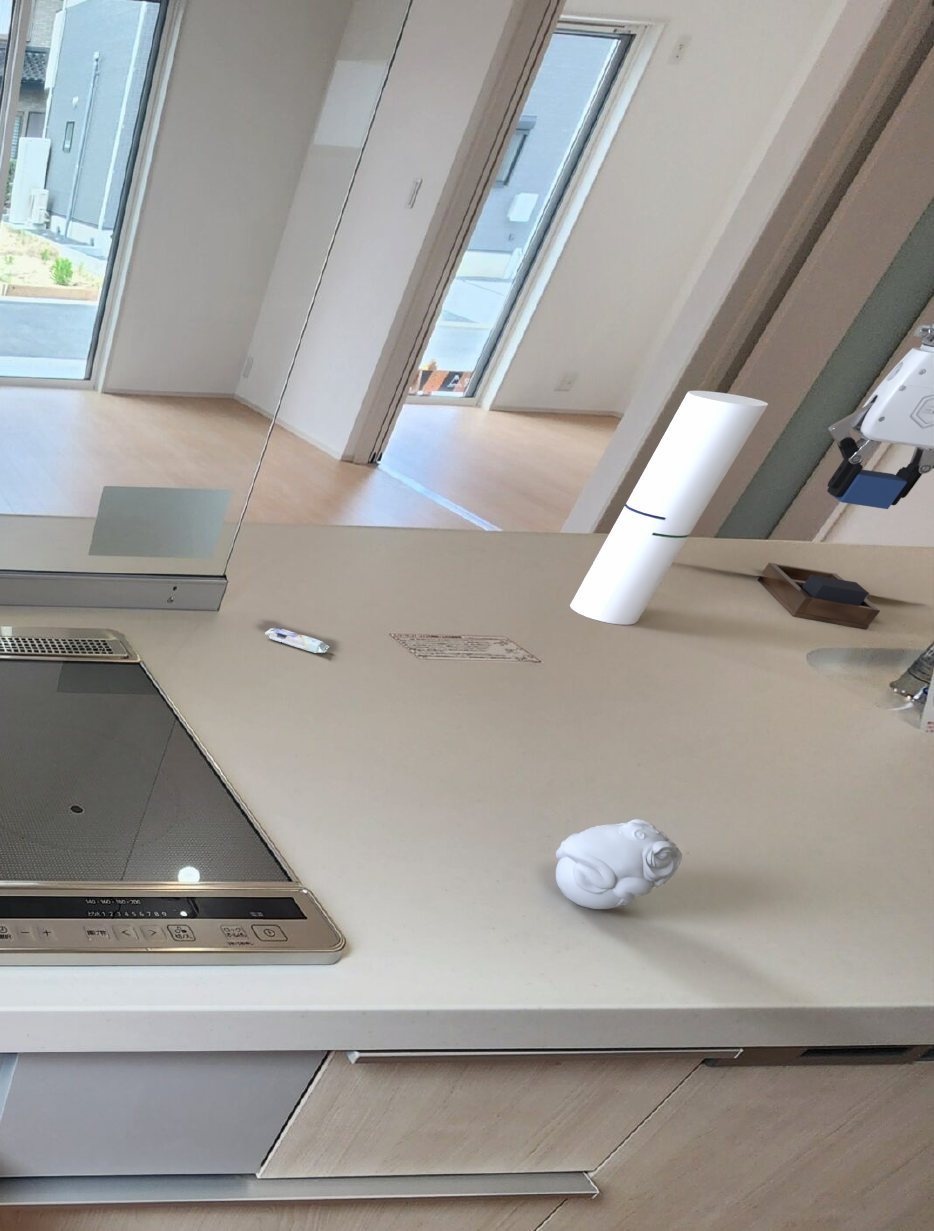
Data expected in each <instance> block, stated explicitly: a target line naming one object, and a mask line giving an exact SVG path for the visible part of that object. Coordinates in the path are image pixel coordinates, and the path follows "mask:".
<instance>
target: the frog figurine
mask: <svg viewBox="0 0 934 1231" xmlns="http://www.w3.org/2000/svg"><path fill="white" fill-rule="evenodd" d="M555 857H556V858H557V860H558V862H557V865H556V868H555V881H556V884H557V886H558V888H559V890H560V892H561V893H562V894H563V895H564V896H565V897H566V898H567V899H568V900H570V901H571V902H573V903H574V904H576V905H579V906H581V907H583V908H587V909H591V910H592V909H593V910H609V909H615V908H618V907H621V906H627V905H628V904H630V903H632V902H634V901H635V897H636V896H637V897H639V896H640V897H642V896H646V895H648V894H650V893H651V892H652V891H653V888H658V887H661V886H662V885H665V884H666V883H667V882H669V880H670V879H672V877H674V875H675V874H676V872H677V871H678V869H679V866H680V865H681V863H682V862H681V861H682V859H683V853H682V852H681V850H680V848H679V847H678V846H677V844H676V843H675V842H673V841H672V840H671V839H670V838H669V837H668V836H667V835H666V833H665V832H664V831H662V830H661V829H658V828H657V826H655V825H654V824H653V823H651V822H650V821H647V820H644V819H639V818H633V819H632V820H630V821H628V822H621V823H611V824H601V825H596V826H592V827H590V828H587V829H585V830H583V831H580V832H575V833H572V834H571V835H569V836H568V837H567V838H566V839H564V840H562V841H561V843H560V845H559V847H558V848H557V850H556V852H555Z"/></svg>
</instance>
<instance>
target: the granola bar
mask: <svg viewBox="0 0 934 1231" xmlns="http://www.w3.org/2000/svg"><path fill="white" fill-rule="evenodd" d="M264 635H266V636H268V637H269V639H270V640H271V641H276V642H279V643H281V642H282V644H284V645H287V646H291V647H295V648H297V649H301V650H304V651H307V652H310V653H314V654H317V653H321V654H325V653H326V652H327V650H328V649H330V646H329V645H328V644H326V643H325V642H324V641H322V640H319V639H316V638H314V637H311V636H308V635H304V634H301V633H297V632H294V631H291V630H288V629H284V628H281V627H275V628H271V627H270V628H269V629H268V630H267V631H265V632H264Z"/></svg>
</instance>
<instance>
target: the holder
mask: <svg viewBox="0 0 934 1231" xmlns="http://www.w3.org/2000/svg"><path fill="white" fill-rule="evenodd" d="M762 574H763V575H764V576H763V575H759V577H758V579H757V581H758V582H759V583H760V584H761V585H762V587H764V588H765V589H766V590H767V591H768V592H769V594H771V596H773V597H774V599H776V601H778V603H780V605H782V607H783V608H785V610H786V611H787V612H788V613H789V614H790V615H791V616H792V617H796V618H800V619H807V620H813V621H818V622H823V623H829V624H835V625H839V626H840V625H841V626H846V627H852V628H856V629H863V630H867V629H868V628H869V627H870V626H871V624H872V623H873V622H874V620H876V618H877V617H878V615H879V614H880V612H881V609H879V608H878V607H877V606H876V605H875V604H874V603H872V602H871V601H870V600H869V599H867V597H866V598H865V599H864V601H863V602H862V603H861V605H860V606H859V605H853V604H847V603H841V602H836V601H830V600H824V599H818V598H812V597H810V596H809V595H808V594H807V593H806V592H805V591H803V590H802V589H801V588H802V586H803V585H804V584H805V582H806V581H807V579H808V578H809V576H810V575H816V576H822V577H828V578H834V579H840V580H844V579H843V578H842V577H841V576H840V575H839V574H837V573H834V572H830V571H829V572H828V571H822V570H816V569H810V568H805V567H798V566H792V565H787V564H780V563H774V562H768V563H767V564H766V566H765V568H764V569H763V571H762Z"/></svg>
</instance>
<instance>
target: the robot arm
mask: <svg viewBox="0 0 934 1231" xmlns="http://www.w3.org/2000/svg"><path fill="white" fill-rule="evenodd" d="M913 337H914V338H920V340H921V339H922V340H921V342H920V343H921V345H920V347H912V348H911V349H910V350H909V351H908V352H907V353H906V354H905V355H904V356H903V357H902V358H901V359H900V361H899V362H898V363H896V365H895V366H894V367H893V368H892V369H891V370H890V372H889V373H888V374H886V376H885V377H884V379H883V380H882V381H881V382H880V383H879V385H878V386H876V389H875V390H874V391H873V393H872V394H871V395H870V396H869V398H868V399H867V400H866V401H865V403H864V404H863V406H862V407H861V408H860V409H858V410H856V411H854V412H853V413H851V414H849V415H847V416H845V417H844V418H842V419H840V420H838V421H837V422H835V423H833V424H831V425H830V426H828V428H827V431H828V433H829V434H830V436H831V437H832V438H833V440H834V441H835V442H836V445H837V447H838V449H839V452H840V453H841V458H842V459H843V460H842V461H841V463H840V464H839V466H837V469H836V470H835V472H834V473H833V475H832V476H831V478H830V479H829V481H828V482H827V490H826V492H827V493H829V495H830V494H832V495H833V496H835V497H841V496H843V495H844V494H845V492H846V491H847V489H848V488H849V486H850V485H851V483H852V482H853V480H854V479H855V478H856V476H857V475H858V474H859V473H860V471H861V470H863V469H864V468H863V467H864V466H863V464H862V462H863V461H864V459H865V458H866V457H867V456H869V454H871V453H872V452H873V451H874V450H875V449H876V448H877V447H878V446H879V445H880V444H882V443H887V444H894V445H900V446H901V445H903V446H907V447H908V446H910V447H915V449H914V451H913V454H912V455H911V460H910V462H909V463H908V464H907V466H902V467H901V468H899V469H898V471H897V472H896V473H895V475H896V476H898V477H900V478H901V479H903V480H905V481H907V483H906V485H905V486H904V488H903V489H902V490H901V492H900V493H899V494H898V496H897V497H896V499H895V500H894V501H893V503H892V504H891V505H890V506H896V505H898V503H899V502H900V501H901V499H904V498H906V497H907V496H908V495H909V493H911V491H912V489H913V488H914V486H915V485H916V484H917V482H918V481H919V480H920V478H921V477H922V476H923V475H925V474H928V473H930V472H931V471H932V470H933V469H934V322H933V323H929V324H925V323H921V324H920V325H919V326H917V328H916V329H915V331H914V333H913ZM850 430H852V431H854V432H856V433H858V434H859V435H860V434H861V435H860V436H859V437H858V438H857V439H854V438H853V437H852V435H851V433H850ZM832 495H831V496H832ZM833 496H832V497H833ZM835 497H834V498H835Z"/></svg>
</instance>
